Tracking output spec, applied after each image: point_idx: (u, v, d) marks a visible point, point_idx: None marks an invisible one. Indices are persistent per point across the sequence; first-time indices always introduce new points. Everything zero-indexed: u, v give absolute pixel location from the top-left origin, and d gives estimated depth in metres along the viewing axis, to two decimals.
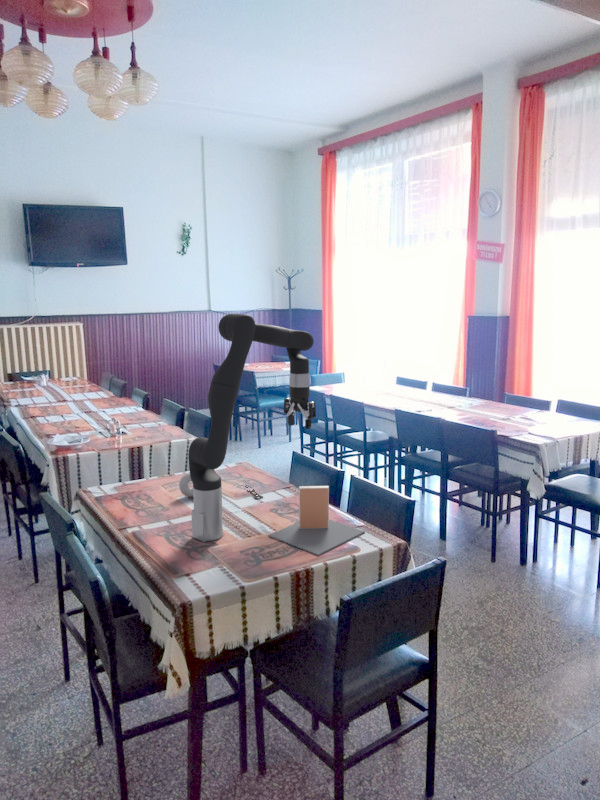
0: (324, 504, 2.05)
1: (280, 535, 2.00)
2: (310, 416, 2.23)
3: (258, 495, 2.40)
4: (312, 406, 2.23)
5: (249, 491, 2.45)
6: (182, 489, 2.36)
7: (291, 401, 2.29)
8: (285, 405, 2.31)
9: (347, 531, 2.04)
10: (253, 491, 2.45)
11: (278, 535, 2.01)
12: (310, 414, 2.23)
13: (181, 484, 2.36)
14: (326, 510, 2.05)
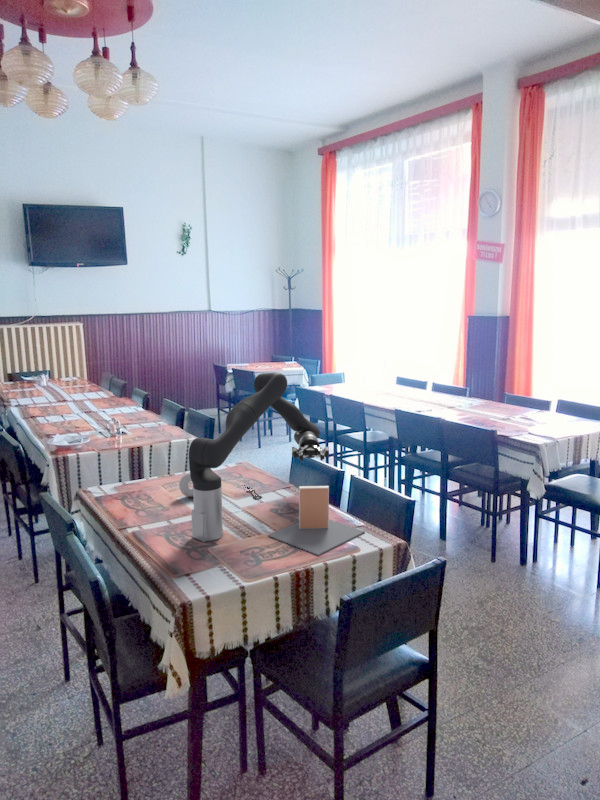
0: (324, 504, 2.05)
1: (280, 535, 2.00)
2: (327, 450, 2.19)
3: (257, 495, 2.40)
4: (328, 449, 2.23)
5: (248, 491, 2.44)
6: (182, 489, 2.36)
7: (301, 447, 2.23)
8: (294, 449, 2.21)
9: (347, 531, 2.04)
10: (252, 491, 2.44)
11: (278, 535, 2.01)
12: (327, 449, 2.20)
13: (181, 484, 2.35)
14: (326, 510, 2.05)
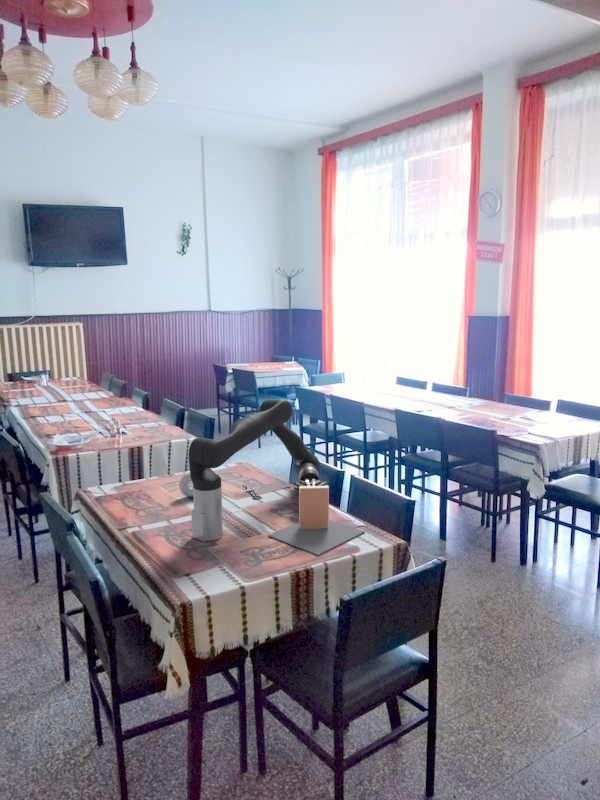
0: (324, 504, 2.05)
1: (280, 535, 2.00)
2: (318, 485, 2.21)
3: (257, 495, 2.40)
4: (325, 485, 2.23)
5: (248, 491, 2.44)
6: (182, 489, 2.36)
7: (301, 481, 2.26)
8: (299, 484, 2.22)
9: (347, 531, 2.04)
10: (252, 491, 2.44)
11: (278, 535, 2.01)
12: (320, 484, 2.21)
13: (181, 484, 2.36)
14: (326, 510, 2.05)
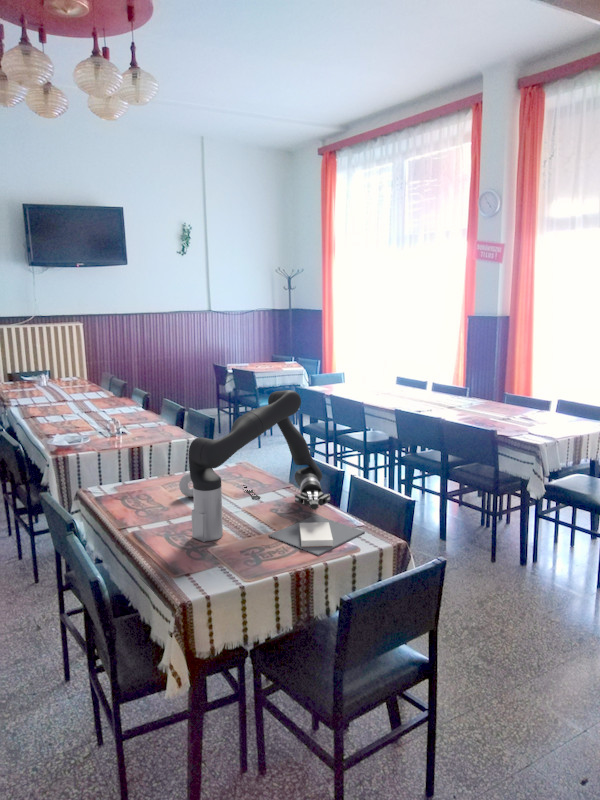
0: None
1: (280, 535, 2.00)
2: (321, 498, 2.08)
3: (256, 495, 2.40)
4: (328, 497, 2.11)
5: (247, 491, 2.44)
6: (182, 489, 2.36)
7: (303, 493, 2.13)
8: (301, 496, 2.10)
9: (347, 531, 2.04)
10: (251, 491, 2.44)
11: (278, 535, 2.01)
12: (322, 497, 2.09)
13: (181, 484, 2.35)
14: None
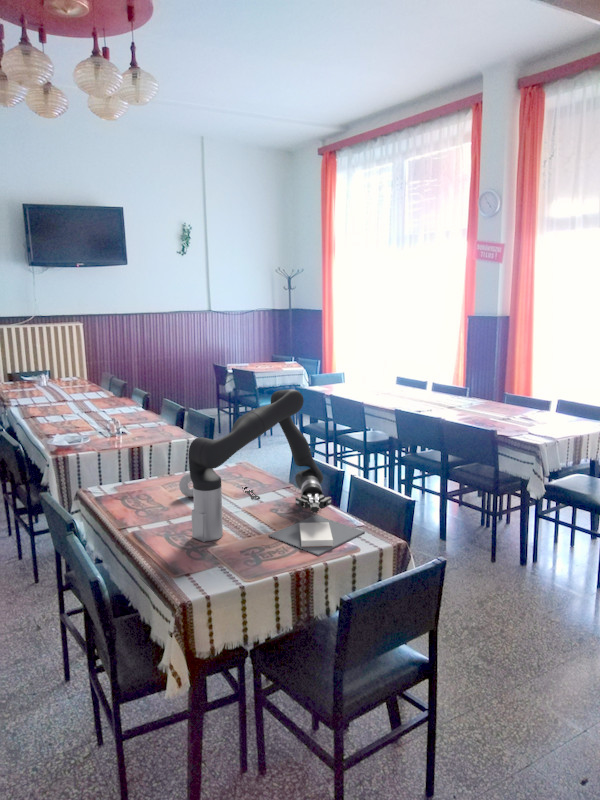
0: None
1: (280, 535, 2.00)
2: (322, 501, 2.05)
3: (255, 495, 2.39)
4: (329, 500, 2.08)
5: (246, 491, 2.44)
6: (182, 489, 2.36)
7: (304, 495, 2.10)
8: (301, 499, 2.07)
9: (347, 531, 2.04)
10: (250, 491, 2.44)
11: (278, 535, 2.01)
12: (323, 500, 2.06)
13: (181, 484, 2.35)
14: None
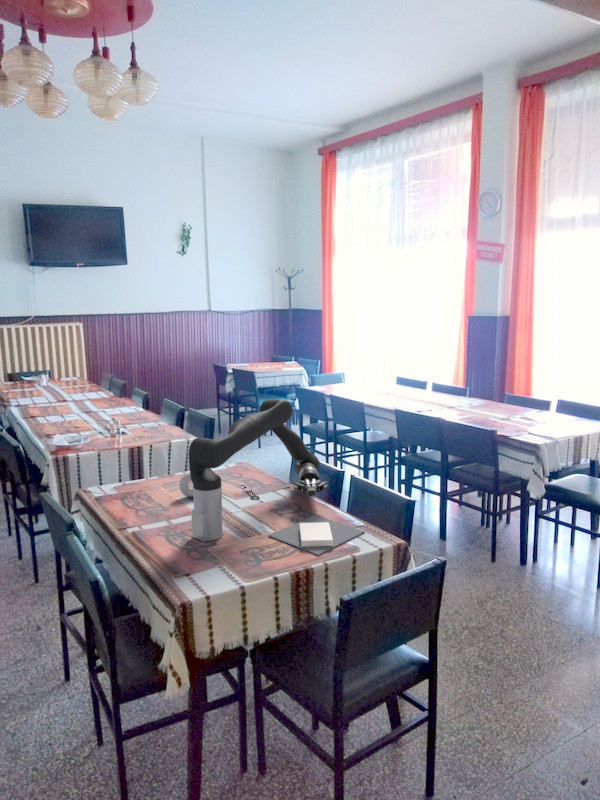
0: None
1: (280, 535, 2.00)
2: (318, 485, 2.21)
3: (255, 496, 2.39)
4: (325, 485, 2.23)
5: (246, 491, 2.44)
6: (182, 489, 2.36)
7: (301, 480, 2.26)
8: (299, 483, 2.22)
9: (347, 531, 2.04)
10: (250, 491, 2.44)
11: (278, 535, 2.01)
12: (320, 484, 2.21)
13: (181, 484, 2.36)
14: None
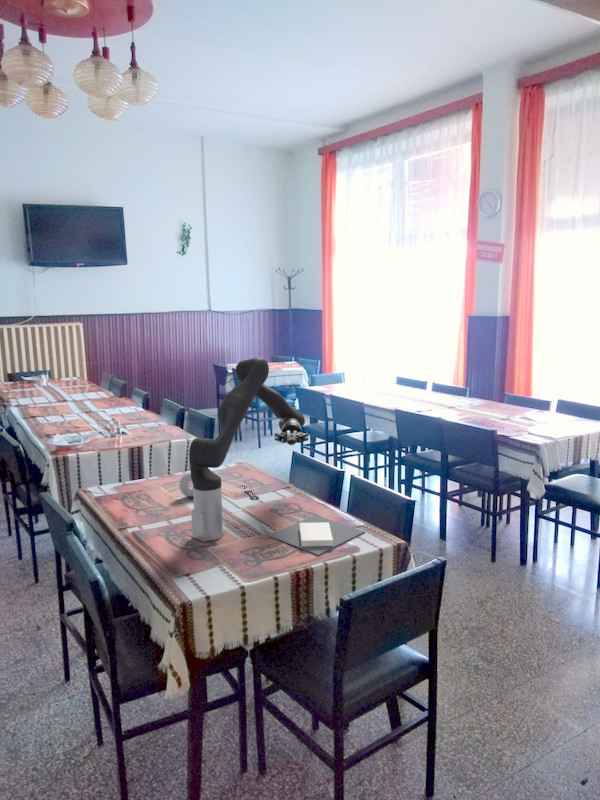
0: None
1: (280, 535, 2.00)
2: (299, 435, 2.17)
3: (254, 496, 2.39)
4: (306, 436, 2.19)
5: (245, 491, 2.44)
6: (182, 489, 2.36)
7: (283, 432, 2.22)
8: (280, 434, 2.18)
9: (347, 531, 2.04)
10: (249, 491, 2.44)
11: (278, 535, 2.01)
12: (300, 435, 2.17)
13: (181, 484, 2.35)
14: None
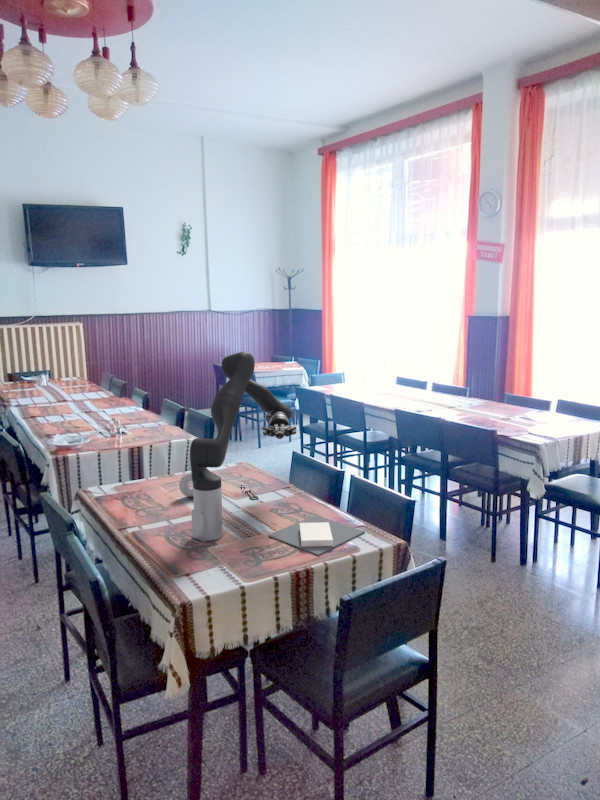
0: None
1: (280, 535, 2.00)
2: (287, 429, 2.17)
3: (254, 496, 2.39)
4: (294, 429, 2.20)
5: (245, 492, 2.44)
6: (182, 489, 2.36)
7: (270, 426, 2.23)
8: (268, 428, 2.19)
9: (347, 531, 2.04)
10: (249, 492, 2.44)
11: (278, 535, 2.01)
12: (288, 429, 2.18)
13: (181, 484, 2.35)
14: None
